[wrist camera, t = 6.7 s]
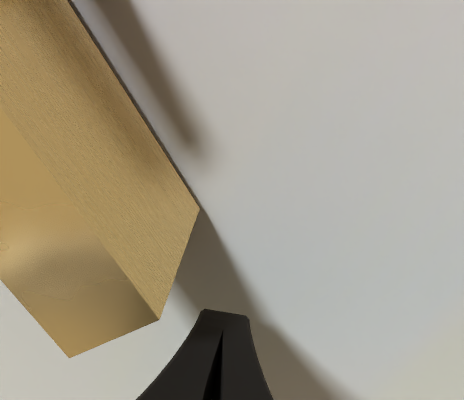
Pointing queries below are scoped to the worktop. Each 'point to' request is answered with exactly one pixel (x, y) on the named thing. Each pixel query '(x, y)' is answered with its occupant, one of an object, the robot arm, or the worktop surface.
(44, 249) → the loose leaf
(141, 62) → the worktop surface
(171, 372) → the robot arm
